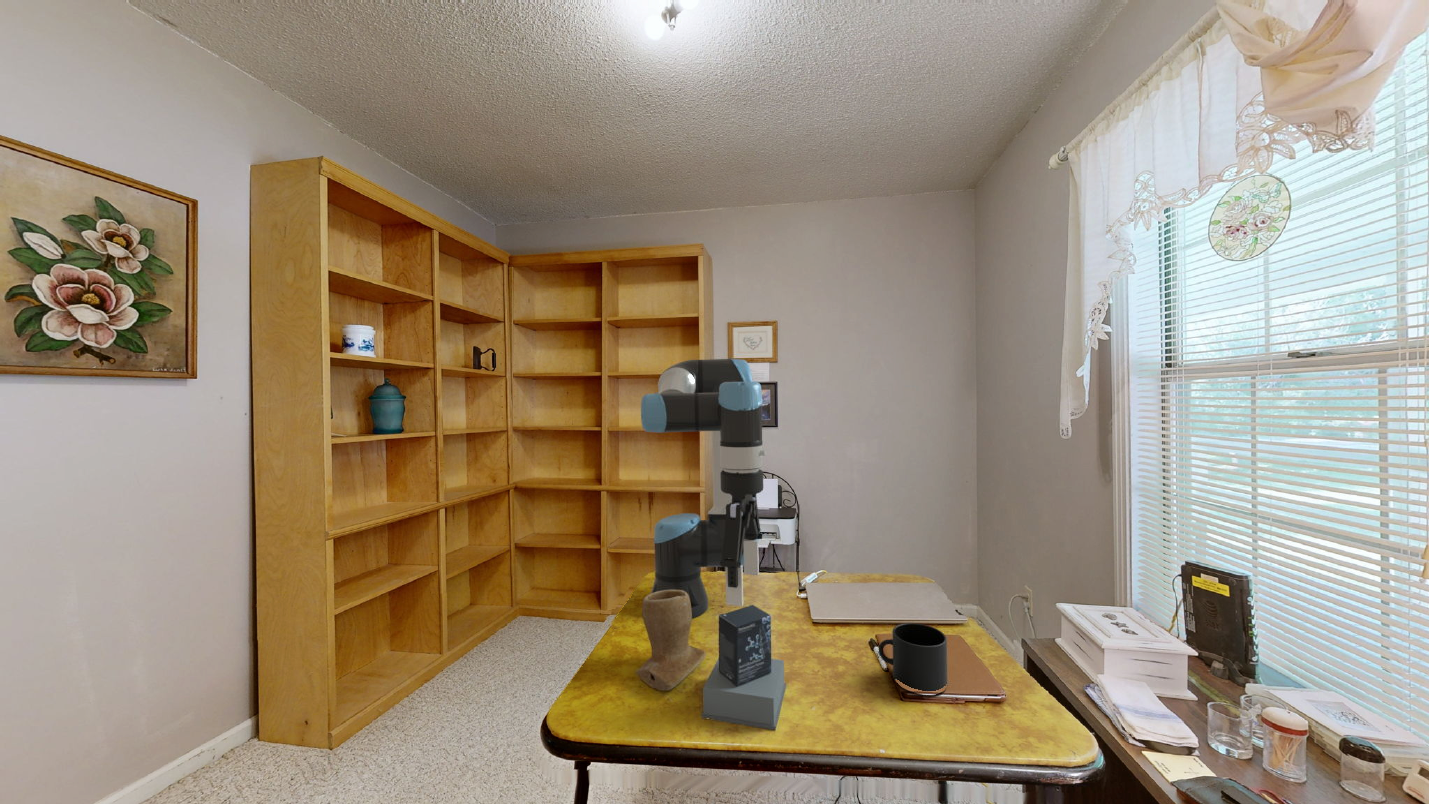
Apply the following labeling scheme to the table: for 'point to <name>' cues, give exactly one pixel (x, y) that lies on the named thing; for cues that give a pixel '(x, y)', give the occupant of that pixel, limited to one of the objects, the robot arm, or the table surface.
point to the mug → (918, 656)
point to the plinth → (745, 698)
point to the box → (744, 644)
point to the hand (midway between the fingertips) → (743, 588)
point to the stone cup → (668, 639)
